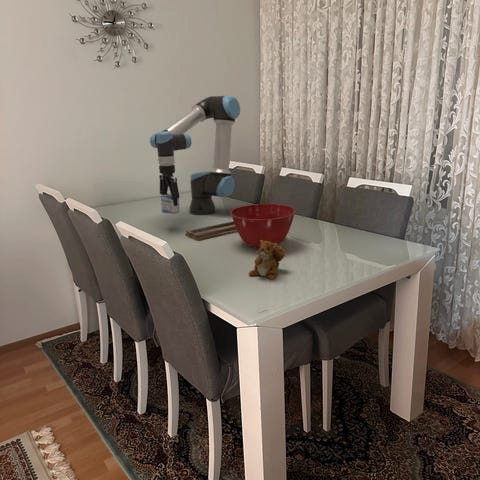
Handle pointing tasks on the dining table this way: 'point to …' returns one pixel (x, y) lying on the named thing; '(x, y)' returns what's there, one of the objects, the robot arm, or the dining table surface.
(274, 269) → the stuffed squirrel
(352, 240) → the dining table surface
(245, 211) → the mixing bowl
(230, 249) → the dining table surface
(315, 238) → the dining table surface
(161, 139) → the robot arm
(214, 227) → the tray
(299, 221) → the dining table surface
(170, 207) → the medicine box
